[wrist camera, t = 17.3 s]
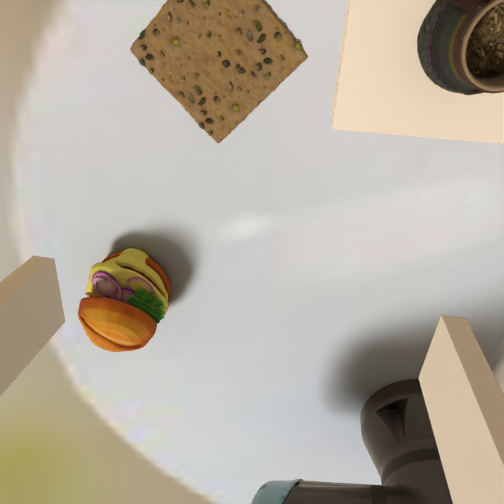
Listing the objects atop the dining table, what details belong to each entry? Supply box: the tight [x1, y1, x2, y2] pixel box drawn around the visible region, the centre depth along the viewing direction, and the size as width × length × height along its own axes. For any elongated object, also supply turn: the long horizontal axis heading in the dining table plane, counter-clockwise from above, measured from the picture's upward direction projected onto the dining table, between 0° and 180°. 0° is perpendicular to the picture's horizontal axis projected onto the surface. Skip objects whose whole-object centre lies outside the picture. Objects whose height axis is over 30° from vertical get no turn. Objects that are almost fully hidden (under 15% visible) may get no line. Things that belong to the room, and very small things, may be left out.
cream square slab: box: [331, 0, 504, 144], centre depth 33 cm, size 16×16×5 cm
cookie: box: [130, 0, 308, 143], centre depth 38 cm, size 12×12×1 cm
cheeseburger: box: [78, 248, 171, 352], centre depth 49 cm, size 10×11×10 cm
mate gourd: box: [417, 0, 504, 95], centre depth 27 cm, size 7×8×10 cm
